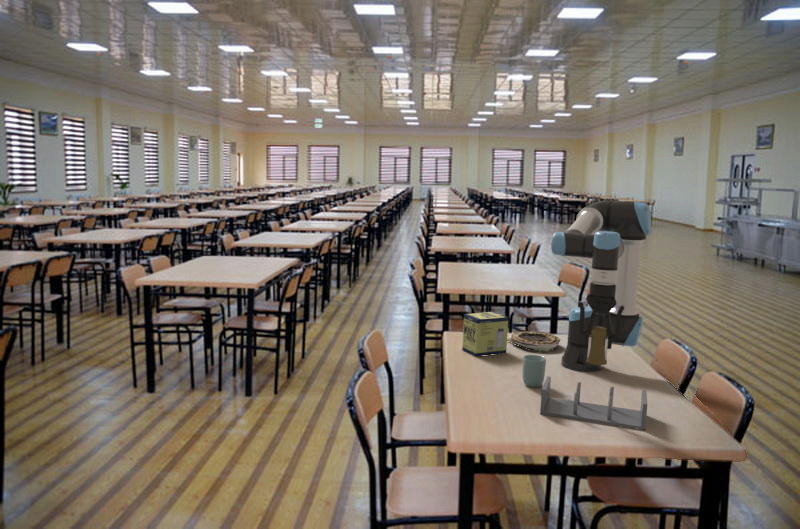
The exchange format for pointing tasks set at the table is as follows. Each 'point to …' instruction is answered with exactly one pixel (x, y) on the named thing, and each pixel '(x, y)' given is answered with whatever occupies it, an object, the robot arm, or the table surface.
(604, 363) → the cork
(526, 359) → the cup
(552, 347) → the pie
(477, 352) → the protein box
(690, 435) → the table surface
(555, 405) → the rack
